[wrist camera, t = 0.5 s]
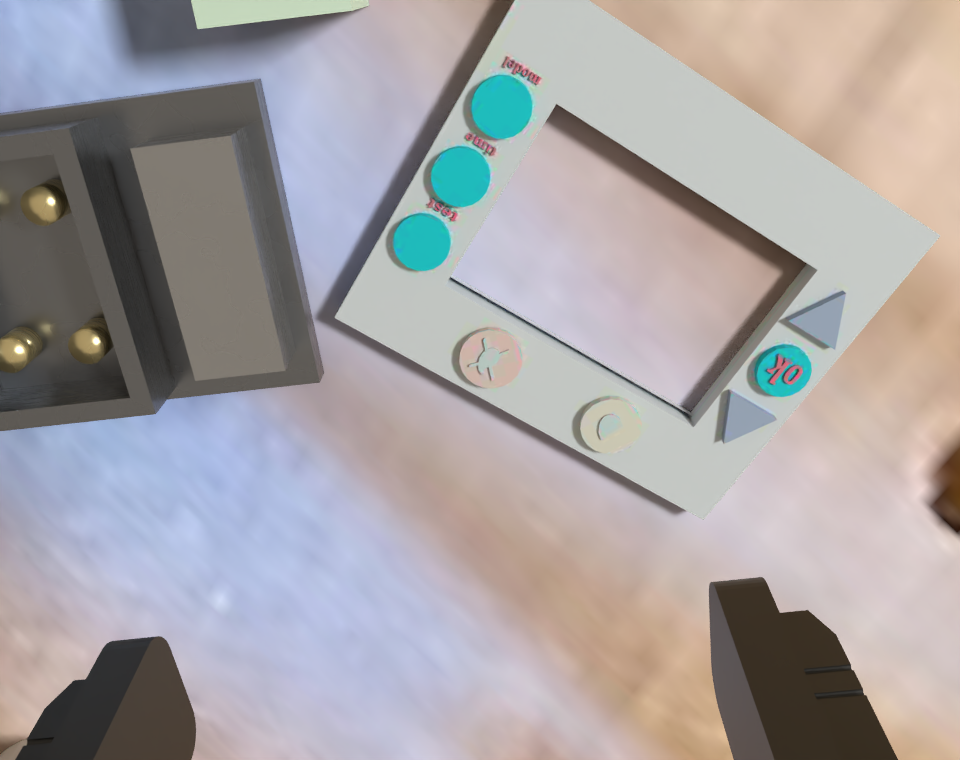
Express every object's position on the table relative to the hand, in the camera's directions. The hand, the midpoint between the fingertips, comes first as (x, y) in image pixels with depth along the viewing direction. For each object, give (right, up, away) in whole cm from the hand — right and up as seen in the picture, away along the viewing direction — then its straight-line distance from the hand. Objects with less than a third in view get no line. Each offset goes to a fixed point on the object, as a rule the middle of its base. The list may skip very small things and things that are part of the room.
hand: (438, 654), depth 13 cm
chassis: (-15, +9, +23) cm, 29 cm away
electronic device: (+6, +9, +24) cm, 26 cm away
